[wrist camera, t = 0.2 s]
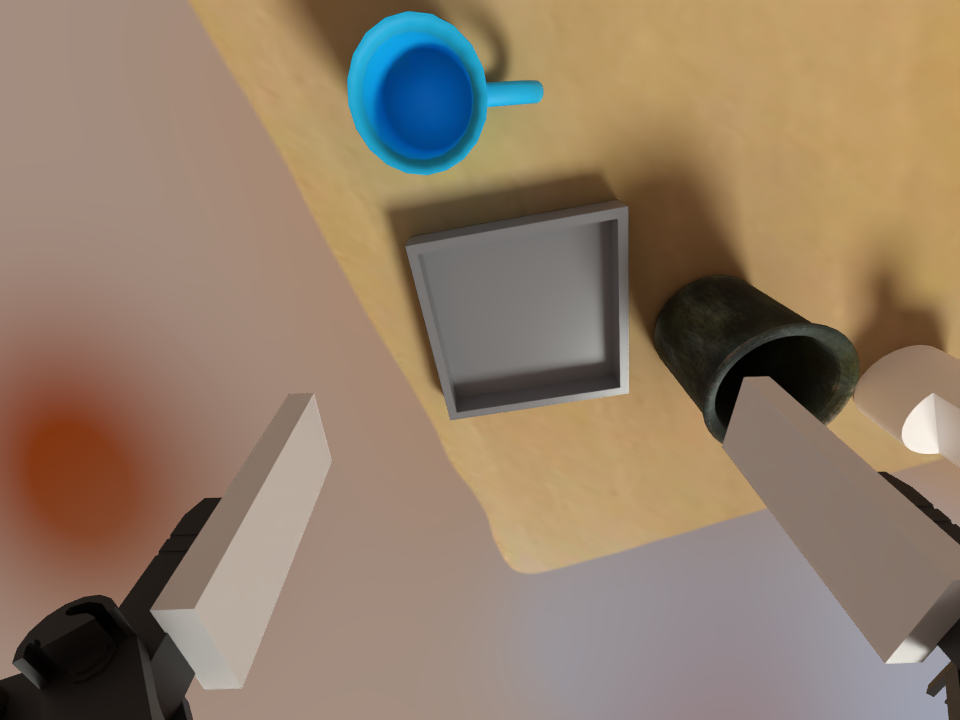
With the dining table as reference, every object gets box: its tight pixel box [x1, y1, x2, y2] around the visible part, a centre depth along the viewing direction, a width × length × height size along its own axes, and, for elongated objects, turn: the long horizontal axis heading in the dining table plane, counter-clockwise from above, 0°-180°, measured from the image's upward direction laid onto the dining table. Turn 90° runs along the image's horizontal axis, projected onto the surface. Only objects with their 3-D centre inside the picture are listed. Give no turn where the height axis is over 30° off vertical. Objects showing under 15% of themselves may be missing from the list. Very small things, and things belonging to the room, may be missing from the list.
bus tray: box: [405, 199, 629, 420], centre depth 40 cm, size 18×18×3 cm
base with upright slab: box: [854, 345, 960, 468], centre depth 41 cm, size 9×9×12 cm
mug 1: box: [347, 11, 544, 175], centre depth 29 cm, size 12×8×8 cm
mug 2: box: [654, 276, 859, 444], centre depth 38 cm, size 11×15×12 cm
